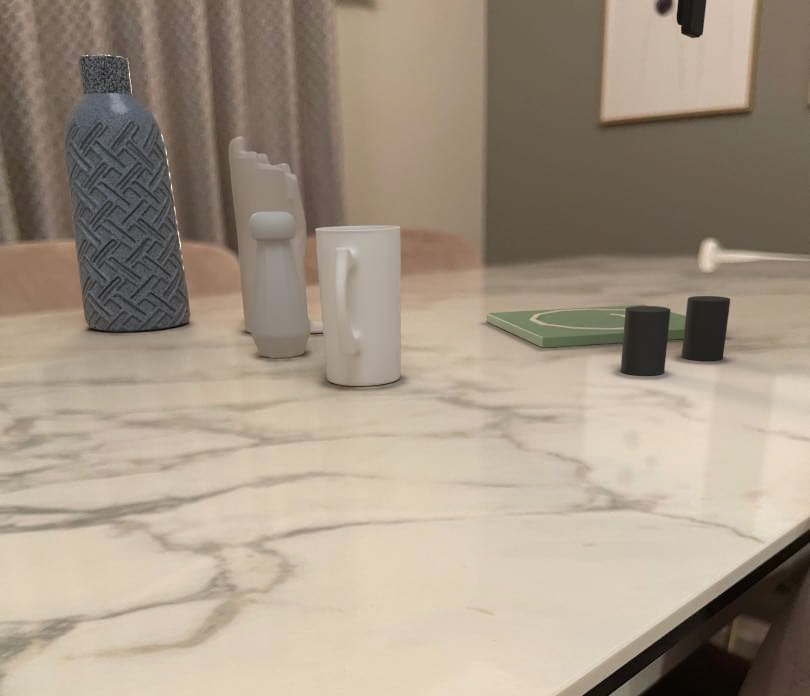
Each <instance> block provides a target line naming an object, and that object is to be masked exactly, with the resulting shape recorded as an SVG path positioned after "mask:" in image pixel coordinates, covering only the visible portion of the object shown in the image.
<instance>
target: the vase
mask: <svg viewBox="0 0 810 696" xmlns="http://www.w3.org/2000/svg"><path fill="white" fill-rule="evenodd" d="M77 62H78V68H79V75H80V82H81V88H82V89H81V90H82V94H83V95H82V96H81V98H80V99H79V100H78V101H77V102H76V103H75V104H74V105H73V107H72V108H71V109H70V111H69V113H68V115H67V117H66V120H65V123H64V128H63V155H64V157H63V158H64V164H65V172H66V181H67V187H68V196H69V205H70V212H71V219H72V228H73V236H74V243H75V253H76V259H77V268H78V275H79V283H80V291H81V298H82V299H81V300H82V307H83V314H84V319H85V322H86V324H87V326H88V328H90V329H93V330H97V331H101V332H111V333H112V332H113V333H131V332H133V333H134V332H149V331H158V330H166V329H171V328H175V327H179V326H182V325H184V324H186V323H188V322H189V321H190V318H191V308H190V300H189V293H188V286H187V279H186V274H185V272H186V271H185V266H184V261H183V252H182V247H181V246H182V245H181V240H180V239H181V238H180V235H179V234H180V232H179V225H178V219H177V213H176V206H175V199H174V192H173V187H172V186H173V185H172V180H171V173H170V165H169V159H168V154H167V149H166V143H165V141H164V136H163V134H162V129H160V126H159V124H158V122H157V120H156V118H155V117H154V116H153V114H152V113H151V112H150V110H149V109H148V108H147V107H146V106H144V104H142V103H141V102H140V101H139V100H138V99H136V98H135V97H134V95H133V90H132V81H131V75H130V67H129V59H128V58H127V57H124V56H122V55H121V56H120V55H111V54H88V55H80V56H79V57H78V58H77Z"/></svg>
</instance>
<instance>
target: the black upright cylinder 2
mask: <svg viewBox="0 0 810 696" xmlns="http://www.w3.org/2000/svg"><path fill="white" fill-rule="evenodd" d="M730 306H731V298H730V297H727V296H726V297H725V296H717V295H697V296H696V295H695V296H690V297H688V298H687V302H686V309H685V310H686V313H685V316H686V320H685V329H684V338H683V339H682V347H681V348H682V349H681V357H682V358H683V359H685V360H690V361H697V362H713V361H720V360H722V359H724V353H725V346H726V338H727V329H728V321H729V314H730V313H729V312H730Z"/></svg>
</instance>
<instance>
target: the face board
mask: <svg viewBox="0 0 810 696" xmlns="http://www.w3.org/2000/svg"><path fill="white" fill-rule="evenodd" d="M634 306H647V305H645V304H631V305H628V304H627V305H611V306H593V307H591V306H590V307H575V308H556V309H538V310H537V309H536V310H535V309H534V310H519V311H497V312H487V313H486V323H489V324H490V325H493V326H495V327H497V328H500V329H502V330H504V331H506V332H508V333H511V334H513V335H515V336H517V337H518V338H521V339H523V340H525V341H527V342H529V343H531V344H533V345H536V346H538V347H540V348H542V349H546V348H563V347H578V346H579V347H580V346H591V345H593V346H594V345H609V344H610V345H611V344H623V335H624V323H625V310H626V308H628V307H634ZM685 320H686V315H684V314H680V313H676V312H673V311H670V320H669V330H668V340H667V341H673V340H683V338H684V329H685Z"/></svg>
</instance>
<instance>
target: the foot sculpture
mask: <svg viewBox="0 0 810 696" xmlns="http://www.w3.org/2000/svg"><path fill="white" fill-rule="evenodd" d="M246 148H247V147H246V138H245V137H244V136H242V135H239V136H236V137H234V138H233V139H231V140H230V142H229V146H228V159H229V169H230V170H229V171H230V180H231V182H230V183H231V191H232V192H231V193H232V201H233V209H234V210H233V211H234V217H235V225H236V237H237V247H238V263H239V277H240V289H241V300H242V308H243V309H242V310H243V320H244V322H243V323H244V330H245V332H247V333H250V334H251V331H250V330H251V317H252V303H253V289H254V276H255V262H256V248H257V240H255V239H253V238H251V235H250V230H249V221H250V218H251V217H252V215H253V214H256V213H258V212H272V211H280V212H287V213H290V214H291V215H292V216H293V217H294V220H295V224H296V234H295V237H294V238H292V239H290V243H291V247H292V251H293V256H294V260H295V264H296V268H297V273H298V277H299V281H300V285H301V290H302V294H303V298H304V302H305V307H306V311H307V315H308V301H307V299H308V298H307V283H306V270H305V269H306V268H305V267H306V266H305V255H306V252H307V247H308V243H307V241H308V239H307V221H306V216H305V210H304V206H303V202H302V197H301V192H300V188H299V181H298V176H297V175H296V174H294V173H292V171H291V168H290V167H291V166H290V164H289V163H287V162H283V163H280V164H279V163H278V164H274V165H273V164H271V163H270V161H269V156H268V155H267V154H265V153H258V152H256V151H247V149H246ZM308 316H309V315H308ZM309 324H310V328H311V330H310V334H323V324H322V320H310V319H309Z"/></svg>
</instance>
